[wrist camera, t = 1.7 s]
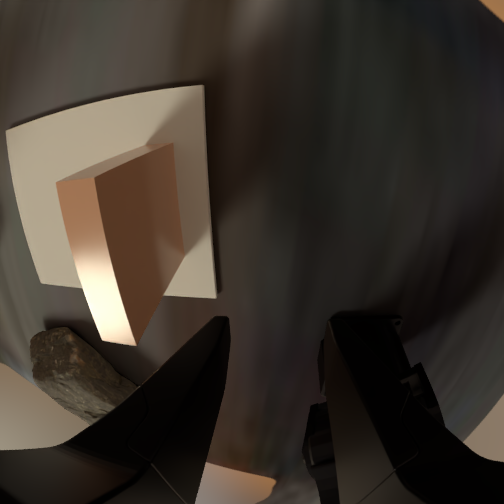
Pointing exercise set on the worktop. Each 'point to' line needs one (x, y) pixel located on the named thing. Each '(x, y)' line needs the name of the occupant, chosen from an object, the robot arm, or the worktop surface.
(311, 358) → the worktop surface
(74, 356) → the rock
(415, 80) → the worktop surface
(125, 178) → the terracotta tile
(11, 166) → the beige mat
